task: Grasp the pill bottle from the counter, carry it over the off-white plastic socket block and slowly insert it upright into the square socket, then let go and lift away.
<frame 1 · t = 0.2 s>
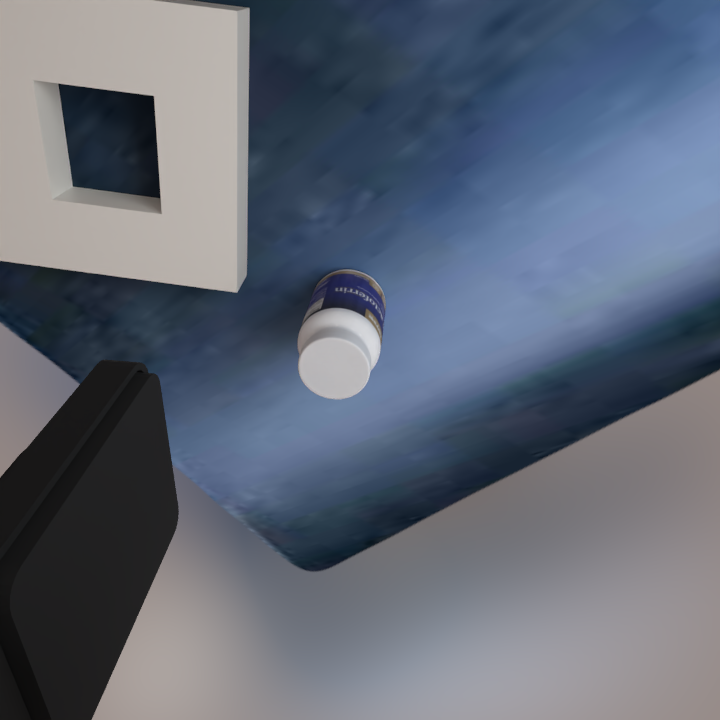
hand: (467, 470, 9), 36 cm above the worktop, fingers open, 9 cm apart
pill bottle: (349, 299, 49), on the worktop
socket block: (119, 139, 44), on the worktop
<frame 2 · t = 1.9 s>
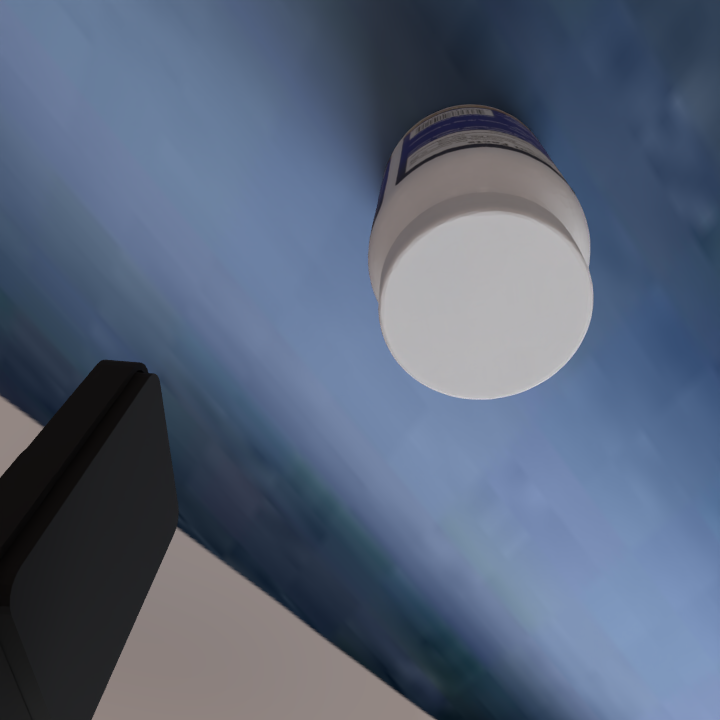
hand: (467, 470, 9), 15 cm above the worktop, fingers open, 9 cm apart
pill bottle: (464, 185, 22), on the worktop
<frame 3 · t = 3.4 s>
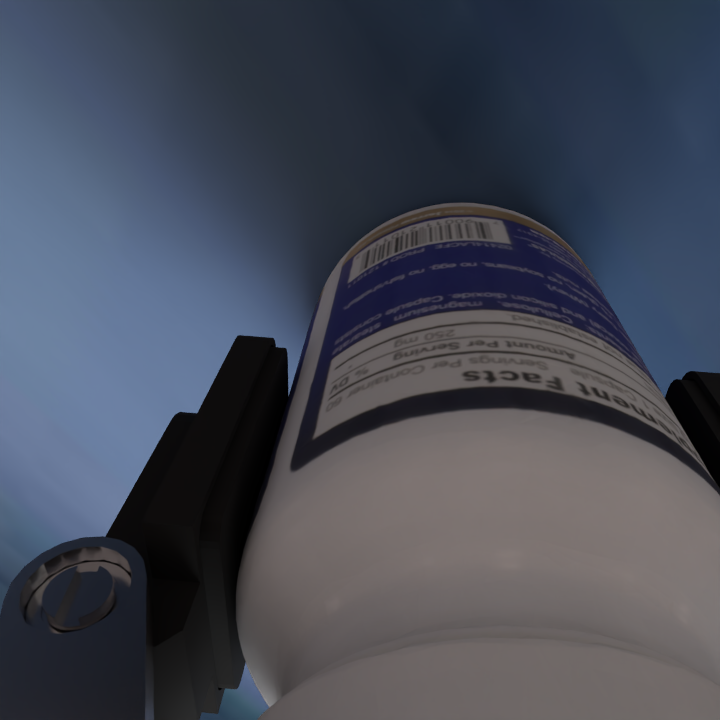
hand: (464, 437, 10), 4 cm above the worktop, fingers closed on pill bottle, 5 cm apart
pill bottle: (454, 325, 13), on the worktop, touching gripper
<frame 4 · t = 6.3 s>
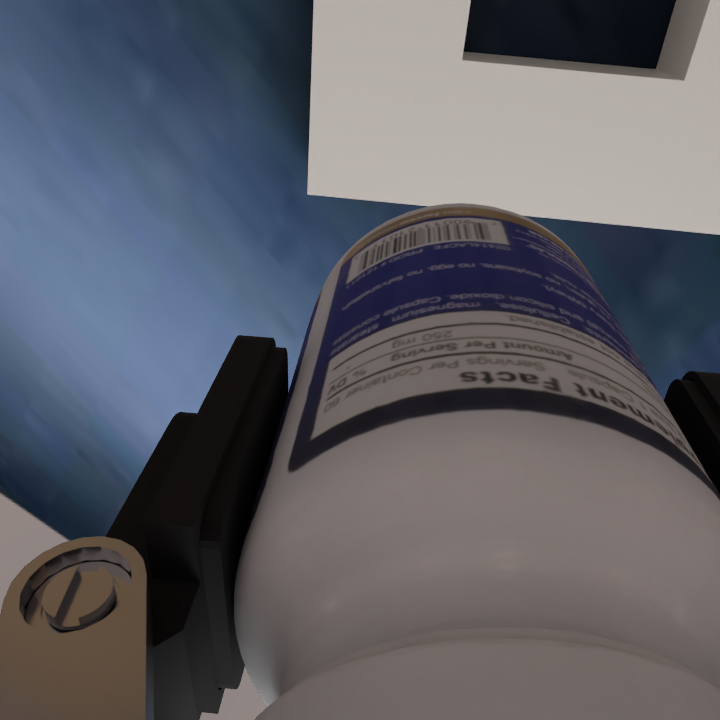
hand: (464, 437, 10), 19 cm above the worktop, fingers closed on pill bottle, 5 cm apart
pill bottle: (453, 325, 13), point 15 cm above the worktop, touching gripper
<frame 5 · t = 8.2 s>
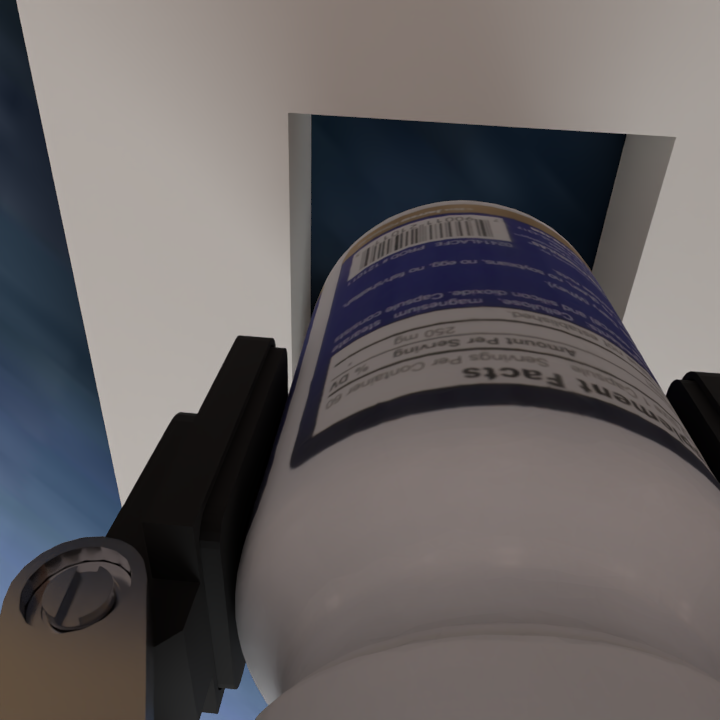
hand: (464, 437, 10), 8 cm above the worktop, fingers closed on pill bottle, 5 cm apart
pill bottle: (454, 323, 13), point 4 cm above the worktop, touching gripper
socket block: (450, 250, 17), on the worktop
when the fingers open (4 cm above the worktop, at t = 9.5 s): pill bottle stays where it is, resting in socket block.
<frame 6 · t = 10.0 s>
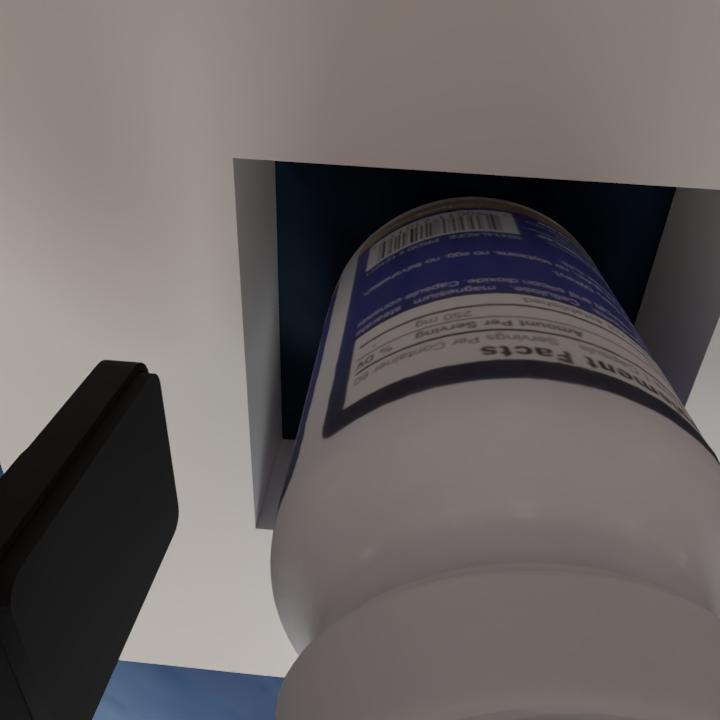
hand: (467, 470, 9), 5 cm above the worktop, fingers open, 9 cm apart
pill bottle: (463, 314, 14), resting in socket block
socket block: (453, 315, 14), on the worktop
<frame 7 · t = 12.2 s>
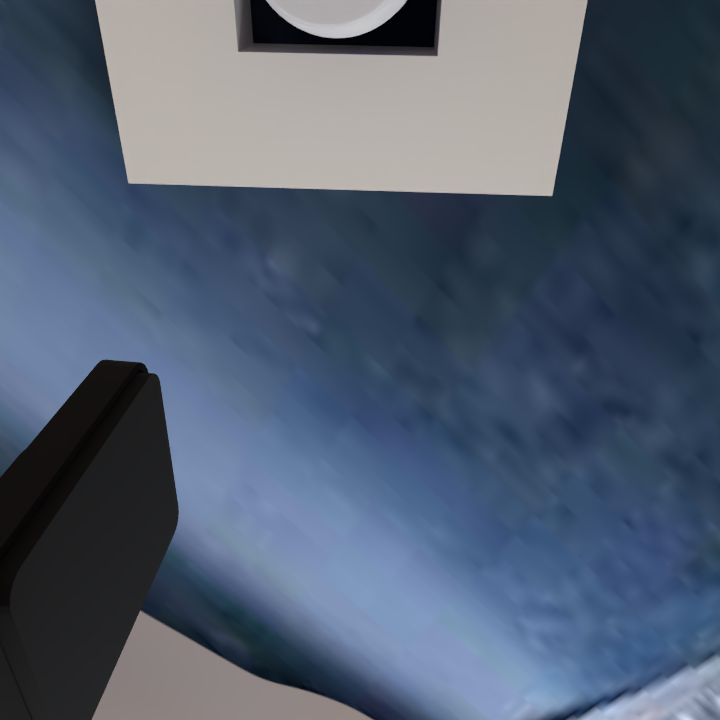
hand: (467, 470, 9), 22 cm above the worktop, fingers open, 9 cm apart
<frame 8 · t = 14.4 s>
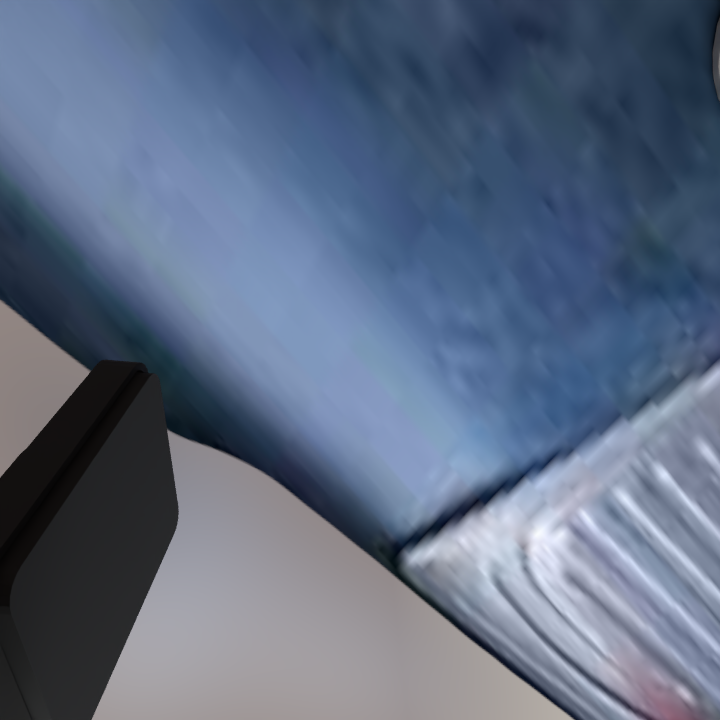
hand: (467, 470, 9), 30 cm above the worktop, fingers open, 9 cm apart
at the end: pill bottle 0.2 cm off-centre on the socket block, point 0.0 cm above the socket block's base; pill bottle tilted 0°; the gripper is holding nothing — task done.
